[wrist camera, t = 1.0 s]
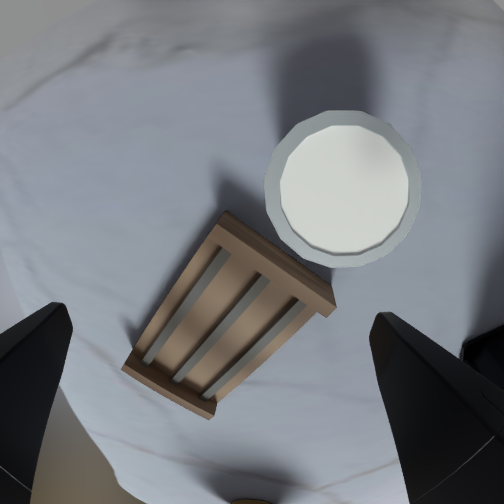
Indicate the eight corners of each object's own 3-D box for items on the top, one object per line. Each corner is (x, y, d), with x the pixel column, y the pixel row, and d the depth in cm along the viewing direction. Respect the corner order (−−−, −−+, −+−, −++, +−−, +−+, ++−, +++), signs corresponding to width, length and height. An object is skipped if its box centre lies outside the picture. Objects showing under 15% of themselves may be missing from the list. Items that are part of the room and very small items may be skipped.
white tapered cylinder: (251, 187, 20) (233, 220, 13) (306, 93, 17) (317, 76, 10) (341, 240, 20) (364, 294, 14) (398, 153, 18) (449, 172, 11)
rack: (225, 210, 20) (216, 223, 18) (331, 285, 22) (336, 307, 19) (132, 349, 26) (120, 369, 24) (214, 398, 28) (208, 420, 25)
